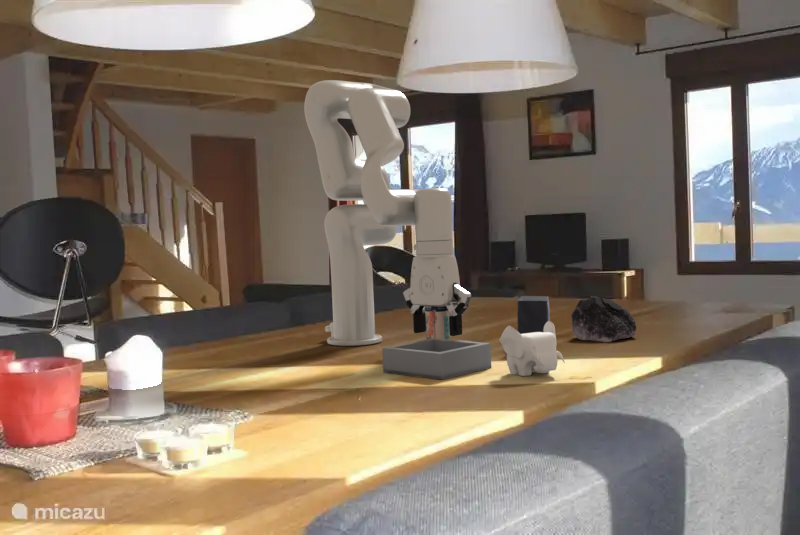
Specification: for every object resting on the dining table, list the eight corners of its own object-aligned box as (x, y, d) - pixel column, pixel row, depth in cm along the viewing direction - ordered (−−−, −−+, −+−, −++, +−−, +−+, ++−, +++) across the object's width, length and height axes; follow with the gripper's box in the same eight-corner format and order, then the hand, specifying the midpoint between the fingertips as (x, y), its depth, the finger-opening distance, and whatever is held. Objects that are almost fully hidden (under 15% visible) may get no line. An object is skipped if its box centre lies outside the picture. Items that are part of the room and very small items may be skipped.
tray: (383, 372, 158) (382, 347, 158) (433, 361, 168) (433, 338, 168) (441, 379, 148) (440, 353, 148) (491, 367, 159) (490, 343, 158)
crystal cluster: (647, 343, 186) (647, 296, 187) (590, 342, 183) (590, 295, 183) (616, 340, 199) (617, 297, 200) (562, 339, 196) (563, 295, 196)
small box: (549, 351, 176) (548, 299, 175) (517, 351, 177) (515, 300, 176) (551, 343, 186) (549, 294, 185) (520, 343, 187) (518, 295, 187)
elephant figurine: (532, 383, 143) (530, 329, 142) (491, 373, 153) (490, 323, 153) (578, 376, 147) (576, 324, 147) (535, 367, 158) (534, 318, 157)
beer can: (425, 353, 178) (423, 295, 178) (448, 352, 179) (446, 294, 178) (428, 357, 173) (425, 297, 173) (451, 356, 174) (449, 296, 173)
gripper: (390, 250, 178) (394, 333, 179) (455, 250, 166) (458, 338, 167) (415, 249, 184) (418, 329, 184) (479, 248, 172) (482, 334, 173)
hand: (437, 333), depth 176 cm, fingers open, 9 cm apart
